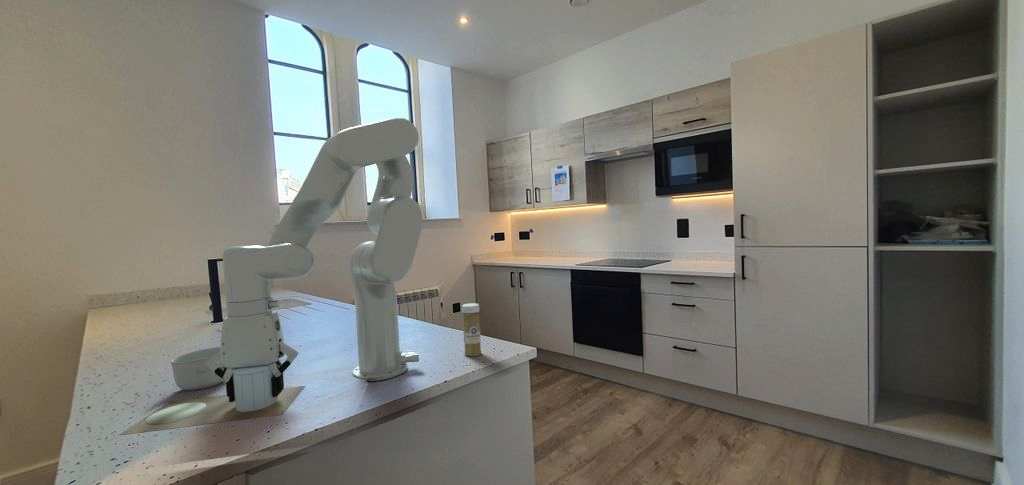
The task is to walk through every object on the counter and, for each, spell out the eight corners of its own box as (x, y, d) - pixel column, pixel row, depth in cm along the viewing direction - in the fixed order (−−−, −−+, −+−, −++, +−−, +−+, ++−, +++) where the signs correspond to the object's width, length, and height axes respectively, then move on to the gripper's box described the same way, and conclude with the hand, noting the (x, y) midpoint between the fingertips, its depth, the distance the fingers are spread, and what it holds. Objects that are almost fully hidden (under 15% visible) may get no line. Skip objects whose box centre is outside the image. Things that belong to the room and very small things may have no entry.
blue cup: (282, 394, 84) (279, 357, 84) (269, 408, 78) (266, 368, 77) (245, 398, 83) (242, 361, 83) (228, 413, 76) (225, 373, 76)
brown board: (305, 389, 89) (304, 375, 88) (282, 418, 75) (281, 401, 75) (170, 405, 84) (169, 389, 83) (119, 439, 70) (117, 421, 70)
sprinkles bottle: (469, 358, 104) (467, 306, 104) (461, 354, 108) (458, 304, 108) (484, 354, 107) (482, 304, 107) (476, 350, 111) (473, 302, 110)
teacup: (200, 397, 87) (197, 361, 86) (160, 395, 89) (157, 360, 89) (254, 373, 100) (251, 342, 100) (218, 372, 103) (215, 341, 102)
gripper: (303, 301, 85) (309, 384, 86) (210, 308, 81) (217, 394, 82) (291, 308, 77) (297, 399, 78) (188, 316, 74) (196, 411, 75)
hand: (256, 396), depth 80 cm, fingers closed on blue cup, 7 cm apart
